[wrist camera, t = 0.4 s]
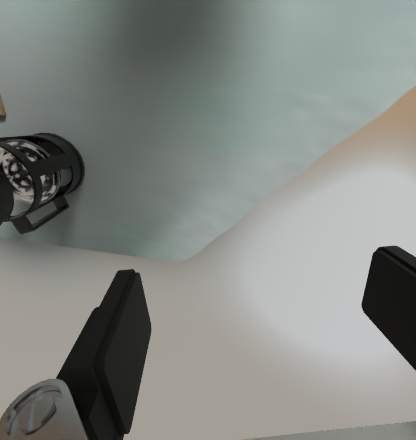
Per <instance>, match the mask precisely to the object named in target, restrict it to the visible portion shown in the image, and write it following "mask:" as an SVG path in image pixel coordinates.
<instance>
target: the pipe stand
mask: <svg viewBox="0 0 416 440" xmlns="http://www.w3.org/2000/svg"><path fill="white" fill-rule="evenodd" d="M0 115H6V113H5V110H4V106H3V103H2V99H1V96H0Z"/></svg>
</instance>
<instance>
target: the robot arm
mask: <svg viewBox="0 0 416 440" xmlns="http://www.w3.org/2000/svg"><path fill="white" fill-rule="evenodd" d="M362 309H363V311H364V313H365V314H366V315H367V316H368V317H369V319H370V320H371V321H372V322H373V323H374V324H375V325H376V326H377V328H378V329H379V330H380V331H381V332H382V333H383V334H384V335H385V337H386V338H387V339H388V340H389V341H390V342H391V343H392V344H393V346H394V347H395V348H396V349H397V350H398V351H399V352H400V353H401V355H402V356H403V357H404V358H405V359H406V360H407V361H408V362H409V364H410V365H411V366H412V367H413V368H414V369H415V370H416V257H414V256H413V255H411V254H409V253H408V252H406V251H404V250H403V249H401V248H400V247H398V246H387V247H379V248H378V249H377V250H376V251H375V252H374V253H373V256H372V261H371V265H370V269H369V274H368V278H367V283H366V287H365V291H364V296H363V300H362ZM150 335H151V322H150V317H149V313H148V309H147V304H146V299H145V295H144V290H143V286H142V281H141V277H140V274H139V273H135V271H134V270H133V269H131V270H120V271H118V272H117V274H116V275H115V277H114V279H113V281H112V283H111V285H110V287H109V289H108V291H107V293H106V295H105V296H104V299H103V301H102V302H101V304H100V306H99V307H96V308H95V309H94V310H93V311H92V313H91V315H90V317H89V319H88V320H87V322H86V324H85V326H84V328H83V330H82V331H81V334H80V335H79V337H78V339H77V341H76V342H75V344H74V346H73V348H72V350H71V352H70V354H69V355H68V357H67V359H66V361H65V363H64V365H63V367H62V369H61V370H60V372H59V374H58V376H57V377H56V379H48V380H45V381H42V382H39V383H37V384H35V385H33V386H31V387H30V388H28V389H27V390H25V391H24V392H23V393H22V394H20V395H19V396H18V397H17V398H16V399H15V400H14V401H13V402H12V403H11V404H10V406H9V407H8V408H7V409H6V411H5V412H4V413H3V415H2V417H1V419H0V440H123V437H124V434H128V433H129V432H130V429H131V425H132V421H133V416H134V411H135V406H136V402H137V396H138V392H139V387H140V383H141V377H142V373H143V368H144V364H145V359H146V354H147V349H148V344H149V340H150ZM244 440H416V421H414V422H405V423H396V424H395V423H394V424H385V425H375V426H366V427H356V428H346V429H337V430H327V431H319V432H308V433H299V434H290V435H281V436H272V437H263V438H253V439H244Z"/></svg>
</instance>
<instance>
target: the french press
mask: <svg viewBox="0 0 416 440" xmlns="http://www.w3.org/2000/svg"><path fill="white" fill-rule="evenodd" d="M42 142H48V143H53V144H54V145H56V146H57V147H58V148H59V149H60V150H61V151H62V152H63V153H64V154H61V155H57V156H53V157H52V156H51V155H50V154H49V153H48V152H47V151H46V150H44V149H43V148H42V147H40V146H38V145H37V144H39V143H42ZM69 166H71V170H72V179H71V181H70V183H69V184H67V185H66V186H63V187H60V182H61V174H60V170H61V169H63V168H66V167H69ZM83 178H84V163H83V160H82V158H81V155H80V154H79V152H78V150H77V149H76V148H75V147H74V146H73V145H72V144H71V143H70V142H69V141H67V140H66V139H64V138H62V137H60V136H58V135H55V134H51V133H39V134H34V135H31V136H18V137H4V138H0V225H1V224H2V223H3V222H7V221H11V222H12V223H13V225H14V226H15V227H16V229H17V230H18V232H19V233H20V234H24V233H28V232H31V231H34V230H36V229H37V228H39V227H40V226H42V225H43V224H45V223H46V222H48V221H49V220H51V219H52V218H54V217H55V216H57V215H58V214H60V213H61V212H63V211H64V210H66V209H67V208H69V205H68V203H67V201H66V199H65V197H64V196H63V195H65V194H68V193H71V192H73V191H74V190H76V189H77V188H78V187H79V186H80V184H81V183H82V181H83ZM14 199H16V200H18V201H21V202H24V203H28V204H32V205H31V207H30V208H29V210H27V211H25V212H23V213H21V214H19V215H17V216H10V215H11V212H12V210H13V206H14ZM51 201H53V202H54V204H55V205H56V207H57V210H55V211H54V212H52V213H50V214H49V215H47V216H46V217H44V218H42V219H41V220H39V221H38V222H36V223H34V224H33V225H32V224H31V223H30V221H29V220H28V218H27V217H26V215H28V214H29V213H31V212H33V211H35V210H37V209H39V208H40V207H42V206H44V205H46V204H48V203H50V202H51Z"/></svg>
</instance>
